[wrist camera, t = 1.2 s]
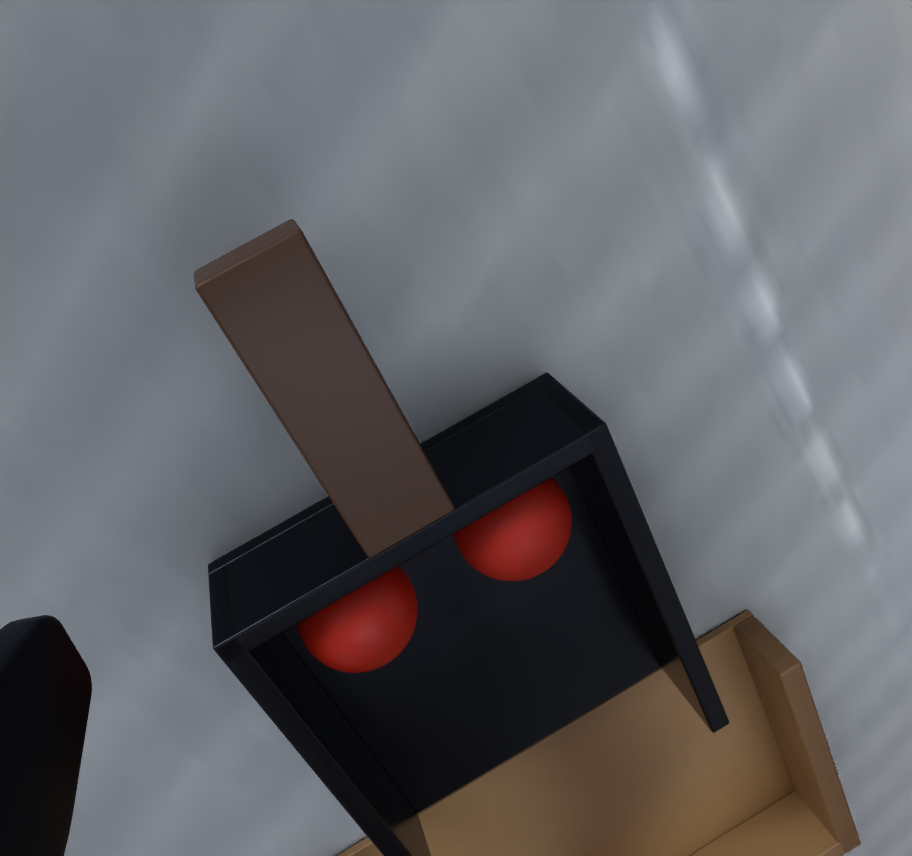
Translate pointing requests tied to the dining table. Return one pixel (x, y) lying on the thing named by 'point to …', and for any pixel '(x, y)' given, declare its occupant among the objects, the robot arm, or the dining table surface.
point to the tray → (665, 773)
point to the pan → (427, 562)
